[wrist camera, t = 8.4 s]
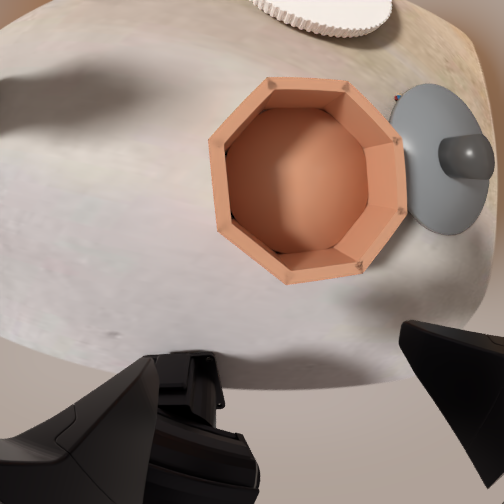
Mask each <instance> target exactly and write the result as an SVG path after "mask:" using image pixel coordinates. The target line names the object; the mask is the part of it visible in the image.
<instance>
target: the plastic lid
mask: <svg viewBox="0 0 504 504" xmlns="http://www.w3.org/2000/svg"><path fill="white" fill-rule="evenodd" d="M249 1H252V2H253V4H254V5H257V6H258V8H259V9H260V10H261V9H263V10H264V12H265V13H269V14H270V16H271V17H276V18H277V20H279V21H280V20H282V21H284V23H285V24H288V23H289V24H291V26H293V27H295V26H296V27H299V29H301V30H302V29H305V30H306V31H307V32H310V31H312V32H314V33H315V34H318V33H321V35H324V36H325V35H329V36H330V37H332V36H336V37H340V36H342V37H343V38H346V37H347V36H348V37H349V38H352V37H353V36H355V37H358V36H359V35H360V36H363V35H364V34H365V35H367V34H368V33H372V32H373V31H375V30H376V29H377V28H379V27H380V26H381V25H382V24H383V23H384V22H385V21H386V20H387V19H388V17H389V16H390V13H391V10H392V8H391V6H392V4H391V2H392V0H249Z"/></svg>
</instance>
